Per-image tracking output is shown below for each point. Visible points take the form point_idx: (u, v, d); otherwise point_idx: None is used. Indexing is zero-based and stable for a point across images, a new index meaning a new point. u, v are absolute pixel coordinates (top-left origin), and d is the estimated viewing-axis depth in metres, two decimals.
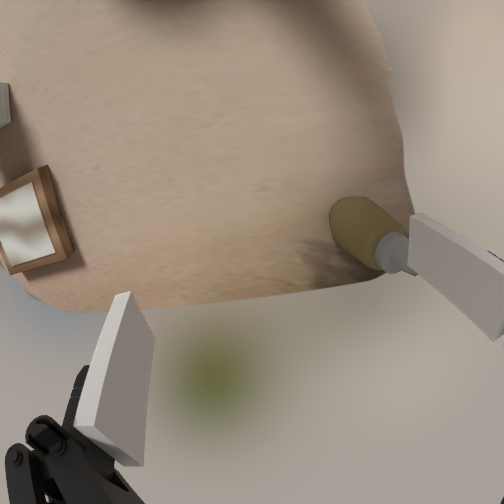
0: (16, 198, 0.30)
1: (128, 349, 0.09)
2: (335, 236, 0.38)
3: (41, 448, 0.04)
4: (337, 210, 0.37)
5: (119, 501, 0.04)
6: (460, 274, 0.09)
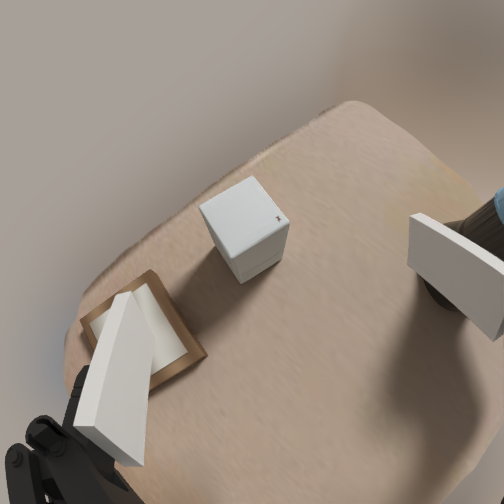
0: (164, 331, 0.35)
1: (128, 349, 0.09)
2: None
3: (41, 448, 0.04)
4: None
5: (119, 501, 0.04)
6: (460, 274, 0.09)
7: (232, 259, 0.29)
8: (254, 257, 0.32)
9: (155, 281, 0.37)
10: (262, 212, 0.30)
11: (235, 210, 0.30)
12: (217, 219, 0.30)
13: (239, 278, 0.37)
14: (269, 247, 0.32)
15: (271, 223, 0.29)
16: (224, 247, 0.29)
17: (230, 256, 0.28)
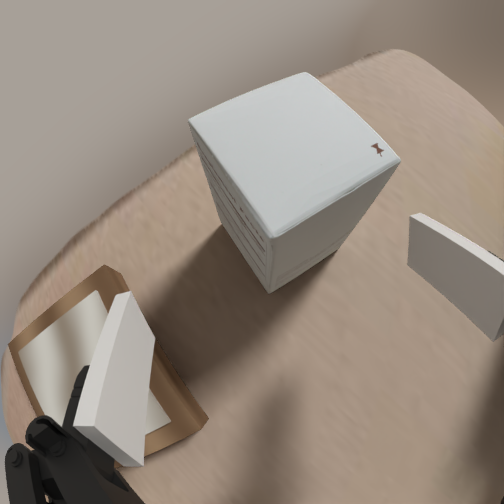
0: None
1: (128, 349, 0.09)
2: None
3: (41, 448, 0.04)
4: None
5: (119, 501, 0.04)
6: (460, 274, 0.09)
7: (273, 241, 0.10)
8: (314, 241, 0.14)
9: (112, 287, 0.19)
10: (339, 132, 0.11)
11: (277, 125, 0.11)
12: (233, 142, 0.11)
13: (270, 285, 0.18)
14: (345, 220, 0.14)
15: (363, 155, 0.11)
16: (251, 209, 0.10)
17: (268, 233, 0.10)
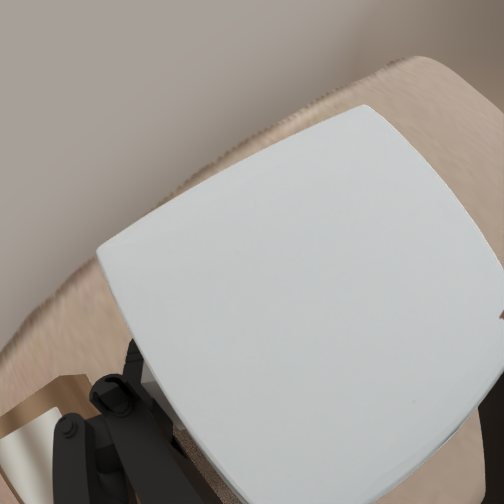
0: None
1: None
2: None
3: (103, 407, 0.06)
4: None
5: (183, 468, 0.05)
6: None
7: None
8: None
9: (72, 407, 0.12)
10: (455, 293, 0.04)
11: (321, 288, 0.04)
12: (200, 348, 0.04)
13: None
14: None
15: (488, 349, 0.04)
16: None
17: None
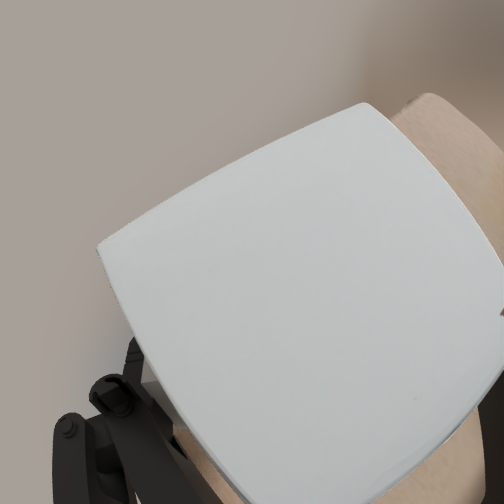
0: None
1: None
2: None
3: (103, 407, 0.06)
4: None
5: (183, 468, 0.05)
6: None
7: None
8: None
9: None
10: (456, 289, 0.04)
11: (321, 285, 0.04)
12: (201, 344, 0.04)
13: None
14: None
15: (489, 346, 0.04)
16: None
17: None
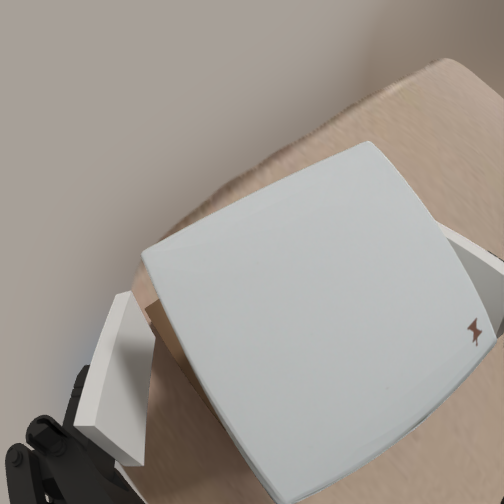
0: None
1: (128, 349, 0.09)
2: None
3: (41, 448, 0.04)
4: None
5: (119, 501, 0.04)
6: None
7: None
8: None
9: None
10: (428, 305, 0.06)
11: (319, 295, 0.06)
12: (226, 334, 0.06)
13: None
14: None
15: (454, 353, 0.05)
16: (255, 468, 0.05)
17: (278, 500, 0.04)
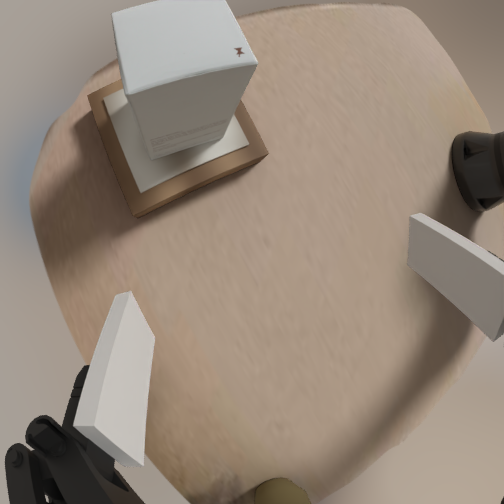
0: None
1: (128, 349, 0.09)
2: (267, 500, 0.26)
3: (41, 448, 0.04)
4: (290, 489, 0.28)
5: (119, 501, 0.04)
6: (460, 274, 0.09)
7: (129, 98, 0.12)
8: (175, 112, 0.15)
9: None
10: (213, 35, 0.12)
11: (168, 24, 0.11)
12: (132, 31, 0.11)
13: (147, 148, 0.20)
14: (207, 102, 0.16)
15: (223, 53, 0.12)
16: (122, 75, 0.11)
17: (126, 90, 0.11)
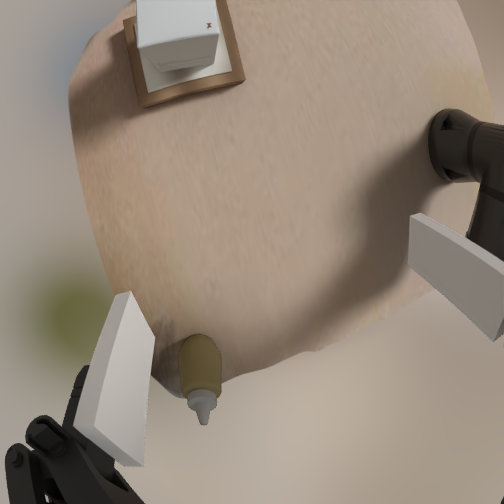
0: None
1: (128, 349, 0.09)
2: (188, 348, 0.46)
3: (41, 448, 0.04)
4: (208, 345, 0.47)
5: (119, 501, 0.04)
6: (460, 274, 0.09)
7: (139, 48, 0.18)
8: (171, 53, 0.22)
9: (225, 5, 0.26)
10: (196, 13, 0.17)
11: (170, 2, 0.16)
12: (147, 5, 0.16)
13: (155, 66, 0.26)
14: (191, 49, 0.22)
15: (198, 26, 0.18)
16: (137, 34, 0.17)
17: (137, 45, 0.18)
